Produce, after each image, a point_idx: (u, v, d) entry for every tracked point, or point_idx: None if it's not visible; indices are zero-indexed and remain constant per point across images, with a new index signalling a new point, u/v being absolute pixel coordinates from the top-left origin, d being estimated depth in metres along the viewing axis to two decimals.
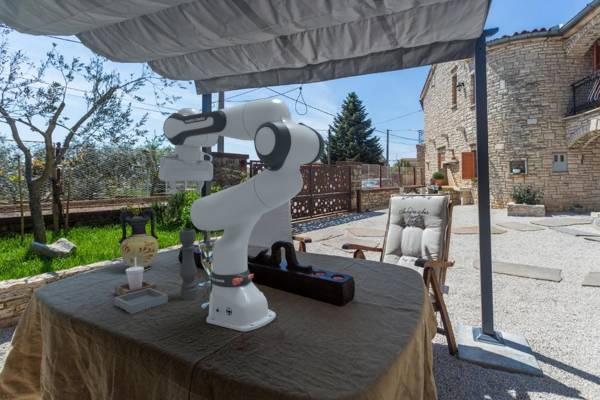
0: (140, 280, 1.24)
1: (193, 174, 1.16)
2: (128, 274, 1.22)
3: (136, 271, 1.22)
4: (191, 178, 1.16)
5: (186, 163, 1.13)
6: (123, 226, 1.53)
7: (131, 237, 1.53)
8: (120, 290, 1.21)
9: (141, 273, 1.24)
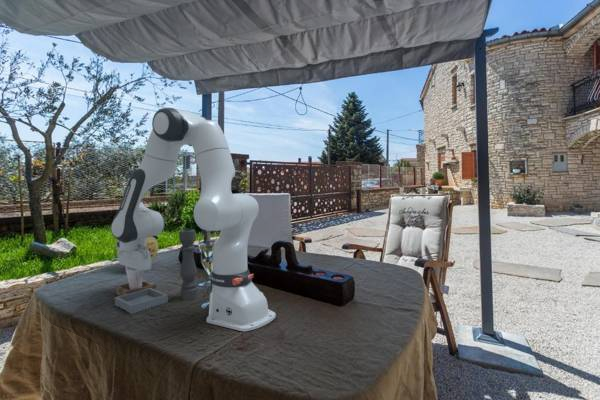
0: None
1: None
2: (128, 274, 1.22)
3: (136, 271, 1.22)
4: None
5: None
6: None
7: None
8: (120, 290, 1.21)
9: None
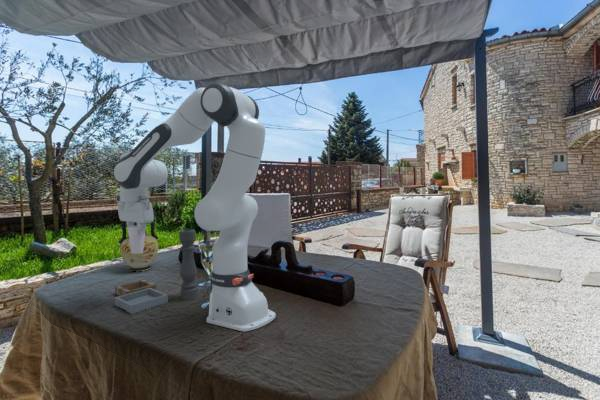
0: (142, 239, 1.17)
1: None
2: (129, 231, 1.15)
3: (138, 228, 1.15)
4: None
5: None
6: (123, 226, 1.53)
7: None
8: (120, 290, 1.21)
9: None
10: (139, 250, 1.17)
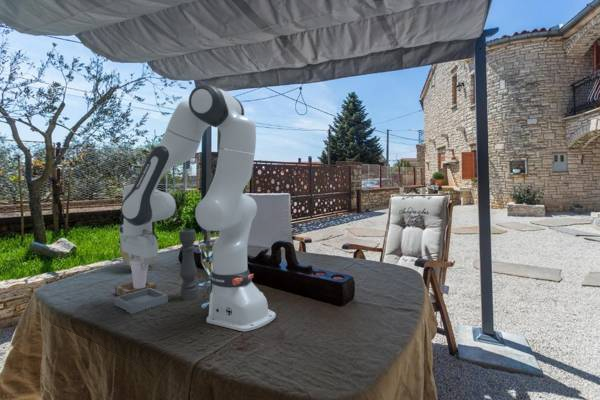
0: (145, 273, 1.13)
1: None
2: (132, 265, 1.11)
3: (141, 262, 1.11)
4: None
5: None
6: None
7: None
8: (120, 290, 1.21)
9: None
10: (142, 284, 1.12)
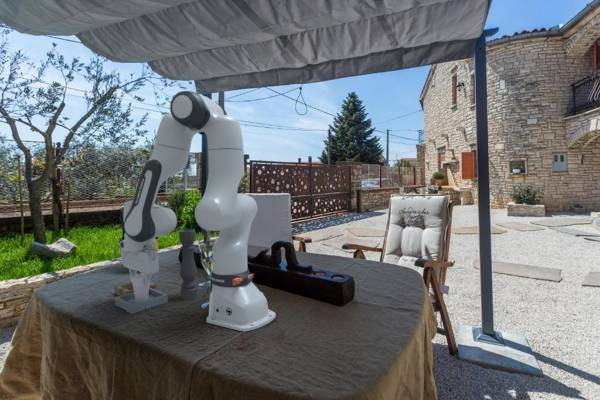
0: (147, 289, 1.12)
1: None
2: (133, 282, 1.10)
3: (142, 279, 1.10)
4: None
5: None
6: (123, 226, 1.53)
7: None
8: (120, 290, 1.21)
9: None
10: None
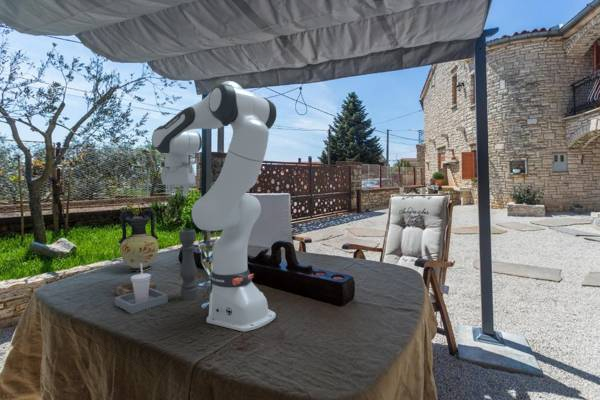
0: (147, 289, 1.12)
1: None
2: (133, 282, 1.10)
3: (142, 279, 1.10)
4: None
5: None
6: (123, 226, 1.53)
7: (131, 237, 1.53)
8: (120, 290, 1.21)
9: (148, 281, 1.12)
10: None
